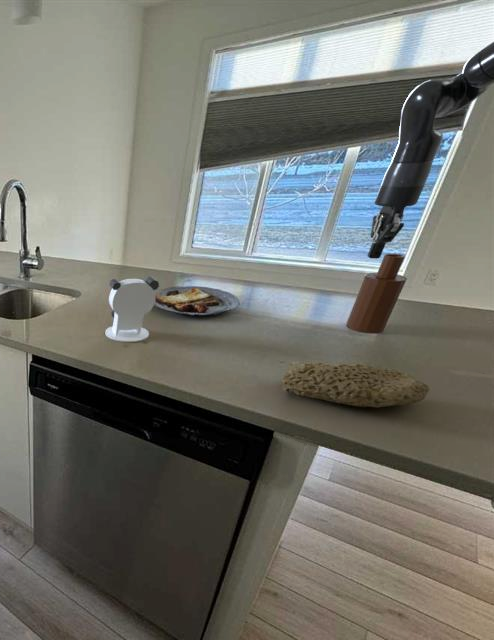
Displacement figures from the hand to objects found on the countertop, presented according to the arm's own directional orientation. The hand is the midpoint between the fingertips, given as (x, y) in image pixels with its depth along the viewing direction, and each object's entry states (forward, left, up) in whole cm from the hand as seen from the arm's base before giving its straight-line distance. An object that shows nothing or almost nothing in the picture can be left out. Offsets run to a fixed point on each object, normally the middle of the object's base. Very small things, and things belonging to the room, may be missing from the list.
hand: (373, 257), depth 104 cm
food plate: (+40, +4, -15) cm, 43 cm away
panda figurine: (+55, +30, -15) cm, 64 cm away
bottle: (0, +12, -15) cm, 19 cm away
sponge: (+12, +51, -15) cm, 54 cm away
